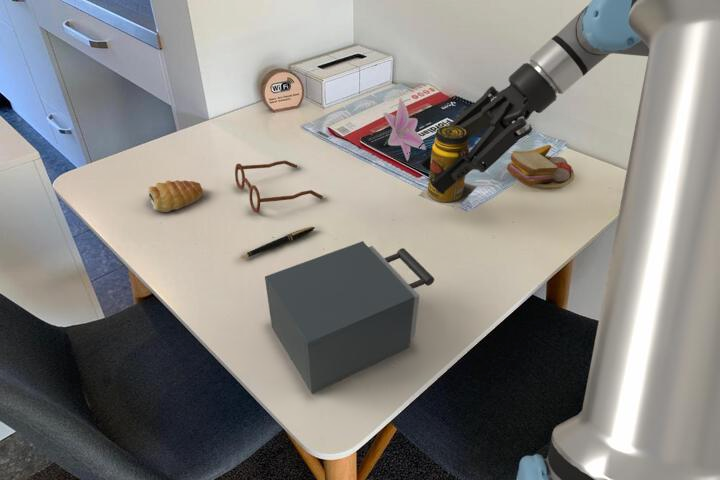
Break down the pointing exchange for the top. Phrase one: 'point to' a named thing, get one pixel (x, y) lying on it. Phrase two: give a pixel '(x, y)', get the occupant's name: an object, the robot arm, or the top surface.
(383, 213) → the top surface
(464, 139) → the condiment
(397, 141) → the lily
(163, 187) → the pastry
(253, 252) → the fountain pen
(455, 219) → the top surface
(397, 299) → the cabinet
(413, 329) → the drawer
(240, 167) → the glasses
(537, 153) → the toy sandwich meal
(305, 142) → the top surface
